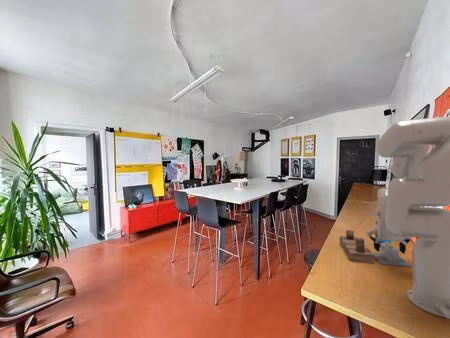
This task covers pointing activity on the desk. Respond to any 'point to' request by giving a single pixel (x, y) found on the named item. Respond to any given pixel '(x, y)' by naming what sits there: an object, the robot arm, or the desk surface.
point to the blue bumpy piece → (384, 241)
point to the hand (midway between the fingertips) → (389, 251)
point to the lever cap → (389, 252)
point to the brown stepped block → (356, 248)
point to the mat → (384, 262)
